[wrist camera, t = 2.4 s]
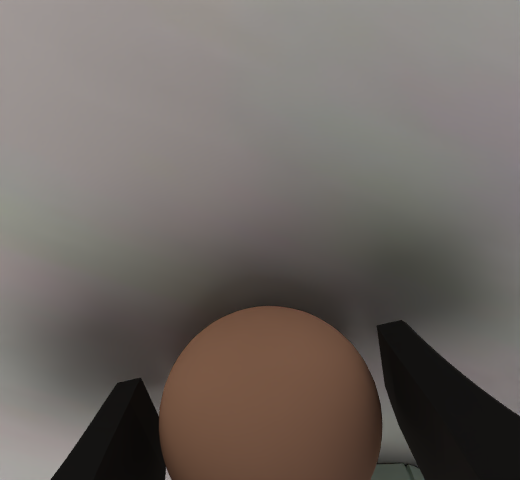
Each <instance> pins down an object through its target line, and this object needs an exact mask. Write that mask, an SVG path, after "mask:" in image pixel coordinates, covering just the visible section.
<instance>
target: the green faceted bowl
mask: <svg viewBox="0 0 520 480" xmlns="http://www.w3.org/2000/svg"><path fill="white" fill-rule="evenodd" d="M371 480H425V479H424V477H423V475H422V473H421V471H420V469H419V468H417V467H414V466H412V465H409V464H408V465H407V466H404V463H402V464H376V467H375V470H374V472H373V475H372V477H371Z"/></svg>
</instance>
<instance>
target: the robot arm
mask: <svg viewBox="0 0 520 480" xmlns="http://www.w3.org/2000/svg"><path fill="white" fill-rule="evenodd" d="M377 331H378V339H379V346H380V353H381V360H382V368H383V375H384V382H385V387H386V390H387V393H388V396H389V399H390V402H391V405H392V408H393V410H394V413H395V416H396V419H397V422H398V424H399V427H400V429H401V431H402V433H403V435H404V437H405V439H406V441H407V444H408V446H409V448H410V450H411V452H412V454H413V456H414V458H415V460H416V462H417V464H418V467H419V469H420V471H421V473H422V475H423V477H424V479H425V480H520V416H519V415H517V414H516V413H514V412H513V411H511V410H510V409H508V408H507V407H506V406H504V405H503V404H501V403H500V402H499V401H497V400H496V399H494V398H493V397H492V396H490V395H489V394H488V393H486V392H485V391H484V390H482V389H481V388H480V387H478V386H477V385H476V384H475V383H473V382H472V381H471V380H469V379H468V378H467V377H466V376H464V375H463V374H462V373H461V372H460V371H458V370H457V369H456V368H455V367H454V366H452V365H451V364H450V363H449V362H447V361H446V360H445V359H444V358H443V357H442V356H441V355H439V354H438V353H437V352H436V351H435V350H434V349H433V348H432V347H431V346H429V345H428V344H427V343H426V342H425V341H424V340H423V339H422V338H421V337H420V336H419V335H418V334H417V333H416V332H415V331H414V330H413V329H412V328H411V327H410V326H409V325H408V324H407V323H405V322H404V321H402V320H400V321H395V322H391V323H386V324H382V325H377ZM165 475H166V465H165V462H164V458H163V455H162V450H161V444H160V436H159V416H158V414H157V411H156V409H155V407H154V405H153V403H152V401H151V398H150V396H149V394H148V392H147V390H146V388H145V385H144V383H143V381H142V379H141V378H137V379H133V380H128V381H124V382H119V383H117V384H116V386H115V387H114V389H113V390H112V392H111V393H110V395H109V396H108V398H107V399H106V401H105V402H104V404H103V405H102V407H101V408H100V410H99V411H98V413H97V414H96V416H95V417H94V419H93V420H92V422H91V423H90V425H89V426H88V428H87V429H86V431H85V432H84V434H83V435H82V437H81V438H80V439H79V441H78V442H77V444H76V445H75V447H74V448H73V450H72V451H71V453H70V454H69V455H68V457H67V458H66V460H65V461H64V462H63V464H62V465H61V466H60V468H59V469H58V470H57V472H56V473H55V474H54V476H53V477H52V478H51V480H165Z"/></svg>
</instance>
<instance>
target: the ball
mask: <svg viewBox="0 0 520 480" xmlns="http://www.w3.org/2000/svg"><path fill="white" fill-rule="evenodd" d="M159 436H160V444H161V450H162V455H163V458H164V462H165V465H166V468H167V470H168V473H169V475H170V477H171V479H172V480H371V477H372V475H373V472H374V470H375V467H376V464H377V461H378V457H379V452H380V448H381V440H382V413H381V405H380V400H379V396H378V392H377V389H376V385H375V382H374V380H373V378H372V375H371V373H370V371H369V369H368V367H367V365H366V363H365V361H364V360H363V358H362V357H361V356H360V354H359V353H358V351H357V350H356V349H355V347H354V346H353V345H352V344H351V343H350V342H349V341H348V340H347V338H346V337H344V336H343V335H342V334H341V333H340V332H339V331H338V330H336V329H335V328H334V327H333V326H331V325H330V324H328V323H326V322H325V321H323V320H321V319H319V318H318V317H316V316H314V315H311V314H309V313H306V312H304V311H300V310H297V309H292V308H286V307H280V306H259V307H252V308H247V309H243V310H240V311H236V312H234V313H231V314H229V315H226V316H224V317H222V318H220V319H218V320H216V321H215V322H213V323H211V324H210V325H209V326H207V327H206V328H205V329H203V330H202V331H201V332H200V333H199V334H198V335H197V336H196V337H195V338H193V339H192V340H191V341H190V342H189V344H188V345H187V346H186V347H185V349H184V350H183V351H182V353H181V354H180V356H179V357H178V359H177V360H176V362H175V364H174V365H173V367H172V370H171V372H170V374H169V376H168V379H167V381H166V384H165V387H164V391H163V395H162V399H161V405H160V413H159Z"/></svg>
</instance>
